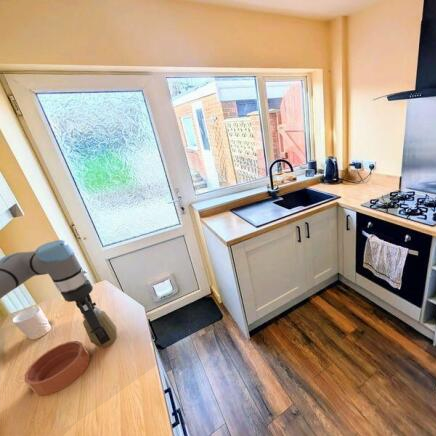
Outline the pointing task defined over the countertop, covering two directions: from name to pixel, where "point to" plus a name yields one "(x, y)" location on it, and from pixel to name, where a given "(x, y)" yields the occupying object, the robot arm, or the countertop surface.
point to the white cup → (32, 322)
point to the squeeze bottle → (107, 325)
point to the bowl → (57, 368)
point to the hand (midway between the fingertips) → (101, 331)
